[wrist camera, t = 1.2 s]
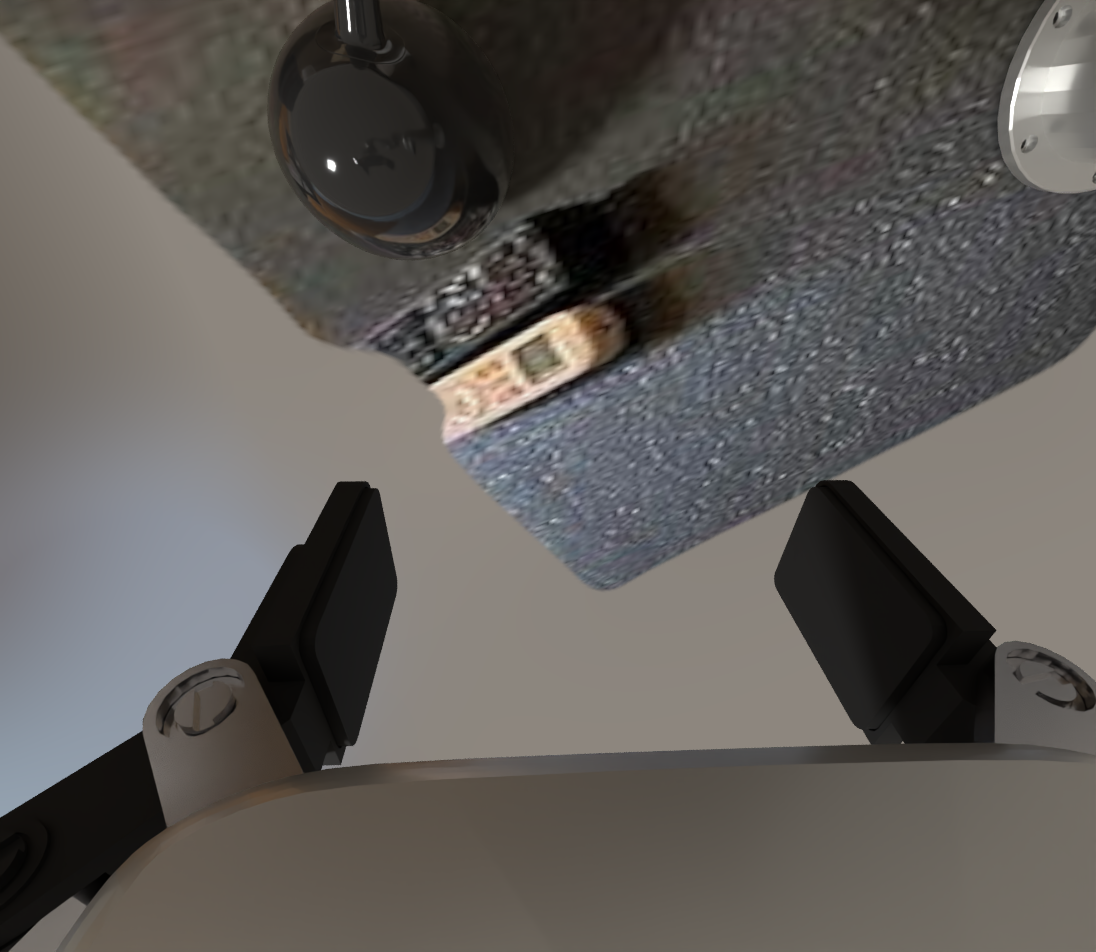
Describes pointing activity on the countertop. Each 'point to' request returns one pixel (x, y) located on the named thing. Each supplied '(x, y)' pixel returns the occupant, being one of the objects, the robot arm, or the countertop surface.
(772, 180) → the countertop surface
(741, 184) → the countertop surface
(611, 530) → the countertop surface
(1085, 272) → the countertop surface
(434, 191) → the pump dispenser
